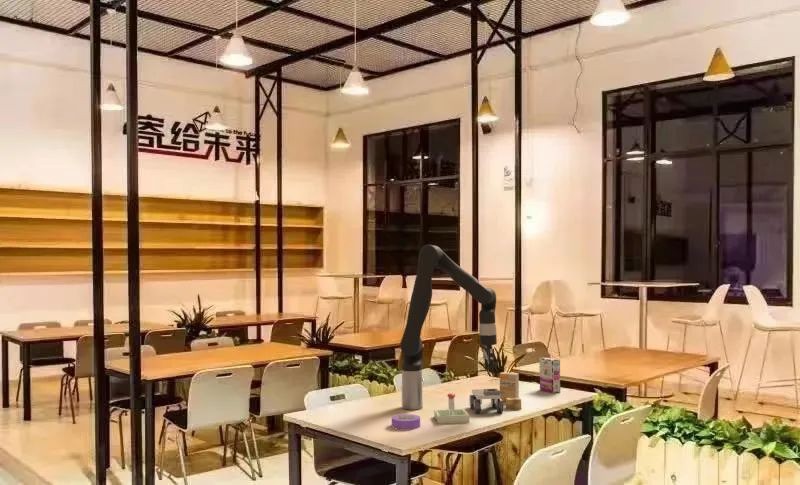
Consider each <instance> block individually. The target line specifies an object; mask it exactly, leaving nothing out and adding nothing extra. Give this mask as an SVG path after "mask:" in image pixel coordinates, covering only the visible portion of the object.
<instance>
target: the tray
mask: <svg viewBox="0 0 800 485" xmlns="http://www.w3.org/2000/svg"><path fill="white" fill-rule="evenodd" d="M433 413H434V414H433V417H434V419H435V421H436V422H437V424H439V425H440V424H465V423H466V424H467V423H468V424H469V423H470V415H469V413H468V412H467V411H466V409H465V408H454V415H449V408H448V409H434V410H433Z"/></svg>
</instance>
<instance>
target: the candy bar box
mask: <svg viewBox="0 0 800 485" xmlns="http://www.w3.org/2000/svg"><path fill="white" fill-rule="evenodd" d="M538 360H539V361H538V362H539V390H540V391H544V392H548V393H552V394H558V393H561V360H560V359H558V358H551V357H539V359H538Z"/></svg>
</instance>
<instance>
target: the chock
mask: <svg viewBox="0 0 800 485" xmlns="http://www.w3.org/2000/svg"><path fill="white" fill-rule="evenodd" d="M505 408H506V410H508V411H509V410H510V411H511V410H512V411H513V410H522V399H521V398H520V397H519V398H506V401H505Z"/></svg>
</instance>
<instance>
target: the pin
mask: <svg viewBox="0 0 800 485" xmlns="http://www.w3.org/2000/svg"><path fill="white" fill-rule="evenodd" d="M447 397H448V409H449V415H454V409H455V397H456V394H455V393H448V394H447Z"/></svg>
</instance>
